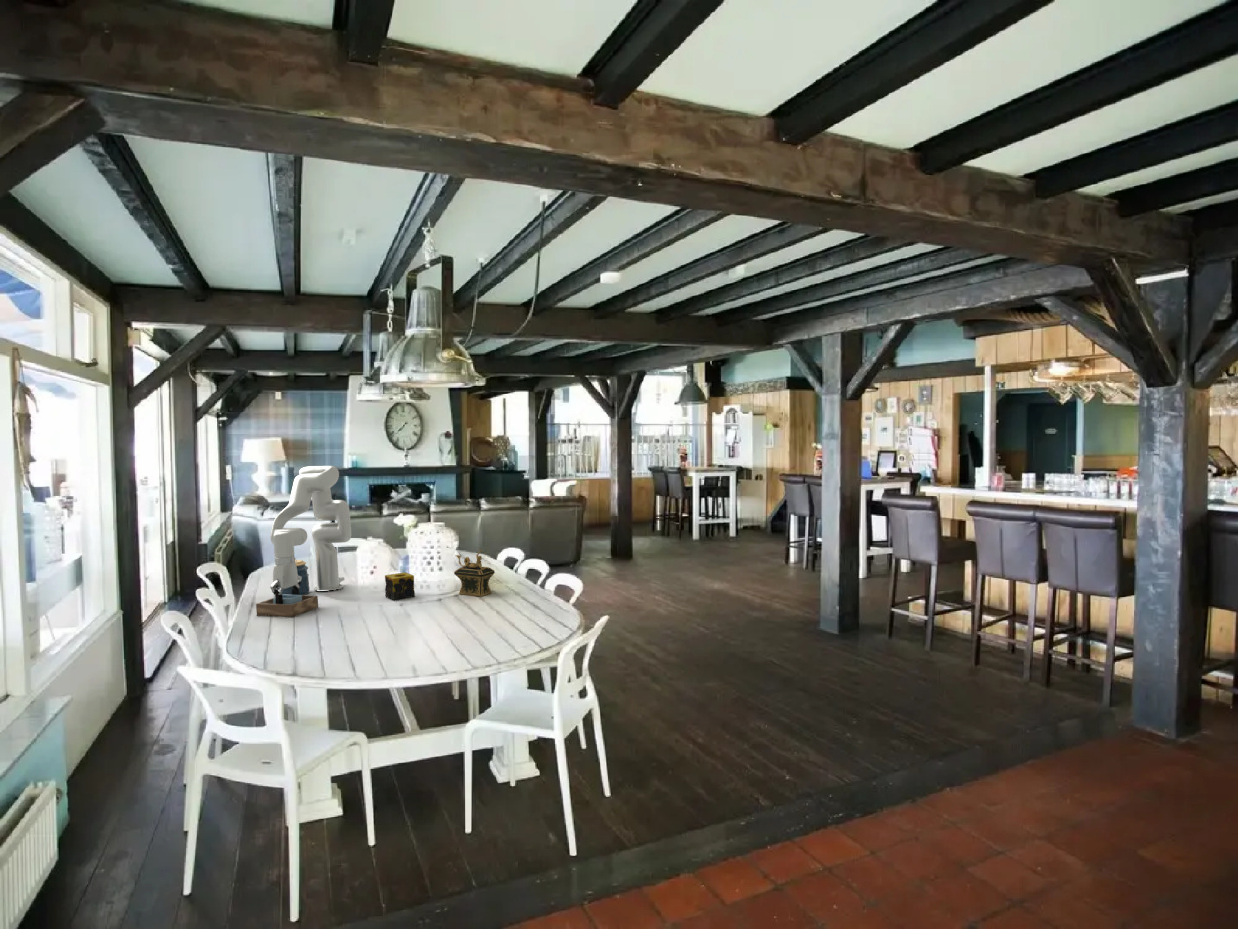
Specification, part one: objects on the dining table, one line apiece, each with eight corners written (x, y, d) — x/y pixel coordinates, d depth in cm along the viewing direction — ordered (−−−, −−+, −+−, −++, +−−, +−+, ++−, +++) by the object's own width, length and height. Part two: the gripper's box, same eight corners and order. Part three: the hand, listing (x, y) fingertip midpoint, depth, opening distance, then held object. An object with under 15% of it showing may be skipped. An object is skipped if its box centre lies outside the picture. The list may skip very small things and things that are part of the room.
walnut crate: (283, 606, 311) (283, 594, 311) (318, 607, 307) (317, 595, 306) (256, 615, 296) (256, 603, 296) (292, 617, 292) (291, 605, 291)
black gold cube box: (385, 597, 321) (383, 575, 321) (407, 593, 327) (405, 571, 327) (393, 601, 313) (391, 578, 312) (415, 597, 319) (414, 575, 318)
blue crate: (284, 607, 306) (283, 594, 306) (302, 608, 304) (301, 595, 303) (273, 611, 300) (272, 598, 299) (291, 612, 297) (291, 598, 297)
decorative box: (497, 592, 322) (495, 549, 321) (482, 597, 313) (480, 552, 312) (463, 589, 332) (461, 546, 331) (448, 593, 324) (446, 550, 322)
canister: (305, 589, 343) (302, 553, 342) (313, 594, 333) (311, 556, 332) (275, 594, 335) (273, 557, 334) (283, 599, 325) (281, 560, 324)
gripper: (291, 556, 310) (294, 595, 311) (262, 564, 293) (265, 606, 294) (306, 556, 308) (309, 596, 309) (277, 565, 291) (280, 606, 292)
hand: (287, 601), depth 302 cm, fingers open, 9 cm apart
